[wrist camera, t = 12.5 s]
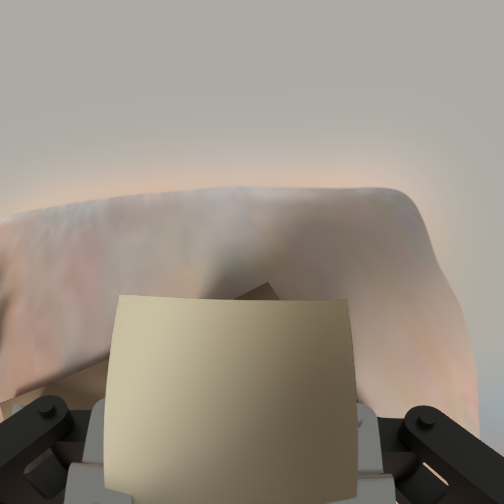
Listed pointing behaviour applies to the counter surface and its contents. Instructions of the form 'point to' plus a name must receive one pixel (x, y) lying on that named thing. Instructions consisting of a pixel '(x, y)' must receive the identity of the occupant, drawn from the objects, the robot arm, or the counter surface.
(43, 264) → the counter surface
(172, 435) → the peg
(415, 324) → the counter surface
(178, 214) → the counter surface
